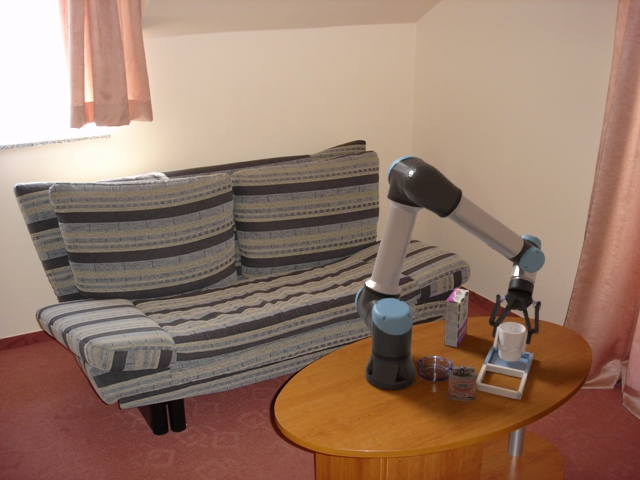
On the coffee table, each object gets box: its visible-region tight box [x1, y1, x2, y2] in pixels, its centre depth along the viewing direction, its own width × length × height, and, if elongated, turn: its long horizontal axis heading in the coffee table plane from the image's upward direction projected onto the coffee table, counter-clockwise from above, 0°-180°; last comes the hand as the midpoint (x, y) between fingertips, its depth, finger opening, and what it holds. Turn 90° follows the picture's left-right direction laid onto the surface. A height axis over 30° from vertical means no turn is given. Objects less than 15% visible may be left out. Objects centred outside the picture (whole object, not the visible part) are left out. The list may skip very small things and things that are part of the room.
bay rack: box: [476, 344, 535, 401], centre depth 195 cm, size 13×25×2 cm, turn 155°
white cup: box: [497, 321, 527, 362], centre depth 198 cm, size 8×8×10 cm
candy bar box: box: [443, 287, 470, 348], centre depth 213 cm, size 11×5×16 cm, turn 153°
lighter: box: [446, 364, 479, 402], centre depth 182 cm, size 8×3×10 cm, turn 82°
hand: (508, 350), depth 196 cm, fingers closed on white cup, 8 cm apart
